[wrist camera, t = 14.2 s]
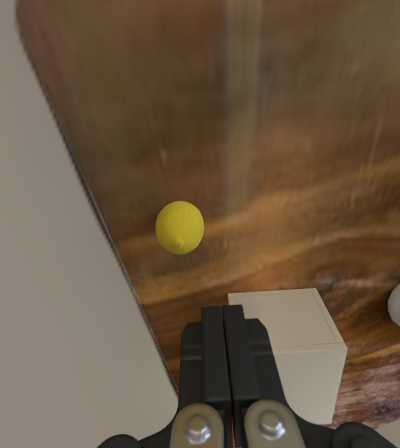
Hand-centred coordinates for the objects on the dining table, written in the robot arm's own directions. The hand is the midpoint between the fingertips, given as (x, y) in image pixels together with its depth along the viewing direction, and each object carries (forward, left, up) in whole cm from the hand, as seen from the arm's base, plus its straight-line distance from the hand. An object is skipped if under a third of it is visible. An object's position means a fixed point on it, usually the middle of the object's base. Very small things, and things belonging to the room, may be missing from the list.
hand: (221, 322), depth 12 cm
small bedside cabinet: (-6, +30, -27) cm, 41 cm away
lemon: (+4, +8, -27) cm, 29 cm away
